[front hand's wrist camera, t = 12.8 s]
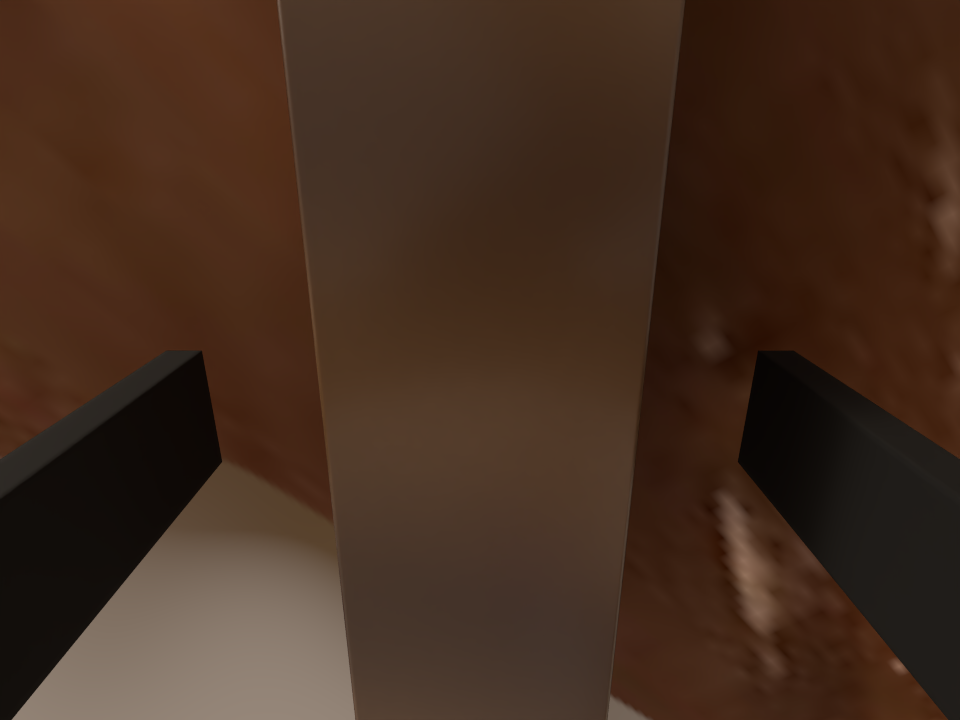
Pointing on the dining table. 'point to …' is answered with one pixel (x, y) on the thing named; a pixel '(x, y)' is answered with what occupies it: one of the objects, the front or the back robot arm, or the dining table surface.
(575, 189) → the bar
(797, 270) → the dining table surface
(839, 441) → the front robot arm
